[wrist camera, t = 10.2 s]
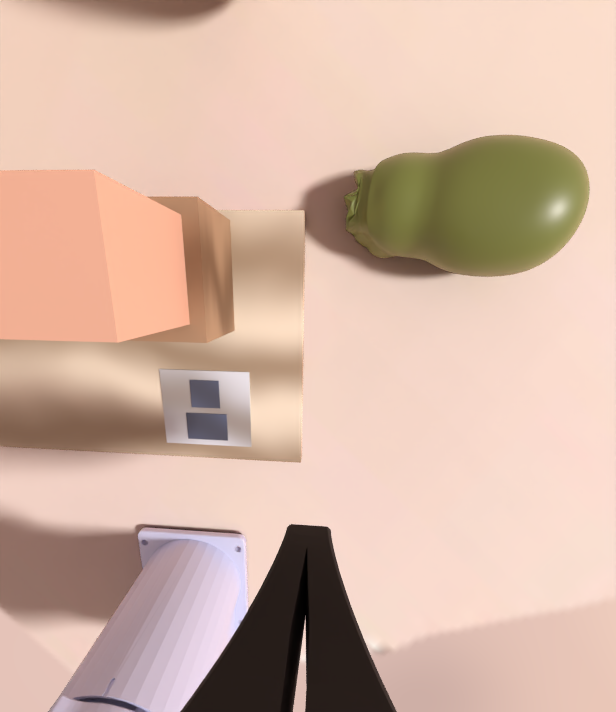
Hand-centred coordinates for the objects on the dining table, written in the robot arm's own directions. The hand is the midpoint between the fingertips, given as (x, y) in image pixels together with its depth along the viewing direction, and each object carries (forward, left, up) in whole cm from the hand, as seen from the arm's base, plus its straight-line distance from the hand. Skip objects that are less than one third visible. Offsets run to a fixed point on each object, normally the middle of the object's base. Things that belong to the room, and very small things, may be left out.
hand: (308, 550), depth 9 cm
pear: (+12, -6, -10) cm, 17 cm away
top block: (+9, +8, -5) cm, 13 cm away
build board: (+5, +12, -9) cm, 16 cm away
